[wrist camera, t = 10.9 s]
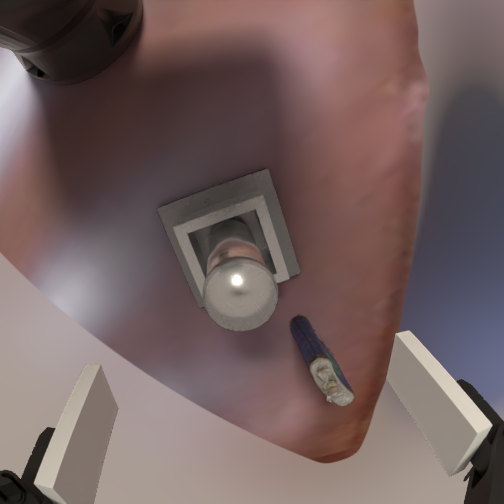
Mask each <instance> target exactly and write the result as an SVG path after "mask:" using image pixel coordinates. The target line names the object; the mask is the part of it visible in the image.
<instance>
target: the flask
mask: <svg viewBox="0 0 504 504" xmlns="http://www.w3.org/2000/svg"><path fill="white" fill-rule="evenodd" d="M290 329H291V332H292V334H293V335H294V338H295V339H296V341H297V343H298V346H299V348H300V350H301V352H302V355H303V357H304V359H305V362H306V364H307V366H308V369H309V372H310V374H311V376H312V378H313V380H314V382H315V384H316V385H317V387H318V388H319V389H320V390H321V392H322V393H323V394H324V395H325V396H326V397H327V398H326V400H327V401H329V402H334V403H336V404H337V405H339V406H345V405H348V404H350V403H351V402H352V401H353V399H354V398H355V396H354V393H353V390H352V389H351V387H350V385H349V384H348V382H347V380H346V379H345V377H344V375H343V373H342V371H341V370H340V367H339V365H338V364H337V362H336V360H335V358H334V356H333V354H332V353H331V351H330V349H329V348H327V347H326V346H325V344H324V343H323V342H324V341H323V340H322V338H321V337H320V336H318V335H316V333H315V330H314V329H313V328H312V326H311V324H310V322H309V320H308V319H307V317H305V316H302V315H299V314H298V316H296V317H294V318H292V320H291V321H290Z"/></svg>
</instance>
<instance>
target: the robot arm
mask: <svg viewBox="0 0 504 504" xmlns="http://www.w3.org/2000/svg"><path fill="white" fill-rule="evenodd" d="M142 8H143V6H142V0H0V47H3V48H6V49H9V50H11V51H13V53H14V54H15V56H16V57H17V58H18V60H19V61H20V63H21V64H22V66H23V67H24V68H25V70H26V71H27V72H28V73H29V74H31V75H32V76H34V77H35V78H37V79H40V80H43V81H46V82H49V83H52V84H58V85H65V84H73V83H77V82H81V81H83V80H86V79H88V78H91V77H93V76H94V75H96V74H98V73H100V72H101V71H103V70H104V69H106V68H107V67H108V66H110V65H111V64H112V63H113V62H114V61H115V60H116V59H117V58H118V57H119V56H120V55H121V54H122V53H123V52H124V51H125V50H126V48H127V47H128V46H129V44H130V43H131V41H132V39H133V38H134V36H135V34H136V32H137V30H138V27H139V25H140V21H141V17H142ZM386 379H387V381H388V382H389V384H390V385H391V387H392V388H393V390H394V391H395V392H396V394H397V396H398V397H399V399H400V400H401V402H402V403H403V405H404V407H405V408H406V410H407V411H408V413H409V414H410V416H411V417H412V419H413V420H414V422H415V423H416V425H417V427H418V428H419V430H420V431H421V432H422V434H423V436H424V438H425V439H426V441H427V442H428V444H429V445H430V447H431V449H432V450H433V452H434V453H435V455H436V457H437V458H438V460H439V461H440V463H441V465H442V466H443V468H444V469H445V471H446V473H447V474H448V476H449V477H450V476H452V475H454V474H456V473H458V472H460V471H462V470H464V469H465V467H466V466H467V465H468V463H469V462H470V461H471V463H472V464H473V467H472V468H471V470H470V471H469V472H468V474H467V475H466V476H465V478H464V481H466V480H467V479H468V478H469V482H468V487H467V492H466V496H465V500H464V504H504V421H503V420H502V419H501V418H500V417H499V415H498V414H497V413H496V412H495V411H494V410H493V409H492V408H491V406H490V405H489V404H488V403H487V402H486V401H485V400H484V399H483V397H482V396H481V395H480V394H478V392H477V390H476V389H475V388H474V387H473V386H472V385H471V384H469V383H468V382H466V381H464V380H462V379H461V380H458V381H455V380H454V379H453V378H452V377H451V376H450V375H449V373H448V372H447V371H446V370H445V369H444V368H443V367H442V365H441V364H440V363H439V362H438V361H437V360H436V359H435V358H434V357H433V356H432V355H431V354H430V352H429V351H428V350H427V349H426V348H425V347H424V346H423V345H422V344H421V342H420V341H419V340H418V339H417V338H416V337H415V336H414V335H413V334H412V333H411V332H410V331H405V332H400V333H396V334H395V340H394V345H393V350H392V355H391V359H390V364H389V368H388V373H387V377H386ZM117 411H118V406H117V404H116V402H115V399H114V397H113V395H112V392H111V390H110V387H109V385H108V382H107V380H106V377H105V375H104V372H103V369H102V367H101V365H100V364H86V365H85V367H84V369H83V371H82V373H81V375H80V377H79V379H78V381H77V383H76V385H75V387H74V389H73V391H72V393H71V396H70V398H69V400H68V402H67V404H66V406H65V409H64V411H63V413H62V415H61V417H60V420H59V422H58V424H57V426H56V428H50V427H47V428H46V429H45V430H44V431H43V432H42V433H41V434H40V436H39V438H38V440H37V442H36V444H35V447H34V449H33V451H32V455H31V456H30V458H29V460H28V463H27V465H26V468H25V470H24V473H23V475H22V478H21V479H20V478H19V477H18V476H17V475H16V474H15V473H13V472H12V471H8V470H3V471H0V504H94V501H95V496H96V492H97V488H98V483H99V479H100V475H101V471H102V466H103V463H104V458H105V455H106V451H107V447H108V444H109V440H110V436H111V433H112V429H113V425H114V422H115V418H116V415H117ZM469 476H470V477H469Z"/></svg>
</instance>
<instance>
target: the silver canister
mask: <svg viewBox="0 0 504 504" xmlns="http://www.w3.org/2000/svg"><path fill="white" fill-rule="evenodd" d="M202 297H203V304H204V307H205V309H206V311H207V313H208V314H209V316H210V317H211V318H212V319H213V320H214V321H215V322H216V323H217V324H218V325H220V326H222V327H223V328H226V329H229V330H233V331H247V330H252V329H254V328H257V327H259V326H261V325H262V324H263V323H265V322H266V321H267V320H268V319H269V318H270V317H271V315H272V314H273V312H274V310H275V307H276V305H277V301H278V286H277V283H276V280H275V278H274V276H273V274H272V272H271V271H270V270H269V268H268V267H267V266H266V265H265V263H264V260H263V258H262V256H261V253H260V251H259V249H258V246H257V244H256V242H255V239H254V237H253V235H252V232H251V231H250V229H249V228H248V227H247V226H246V225H245V224H244V223H242V222H240V221H237V220H226V221H223V222H221V223H219V224H218V225H217V226H216V227H215V228H214V229H213V230H212V232H211V234H210V238H209V251H208V264H207V276H206V278H205V281H204V285H203V294H202Z"/></svg>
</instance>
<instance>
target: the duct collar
mask: <svg viewBox="0 0 504 504" xmlns="http://www.w3.org/2000/svg"><path fill="white" fill-rule="evenodd" d="M157 210H158V213H159V215H160V218H161V220H162V223H163V225H164V228H165V230H166V233H167V235H168V237H169V240H170V242H171V245H172V247H173V249H174V252H175V254H176V257H177V259H178V261H179V264H180V266H181V268H182V270H183V273H184V275H185V277H186V280H187V282H188V284H189V286H190V289H191V291H192V293H193V295H194V298H195V300H196V302H197V304H198V306H199V308H201V307H204V304H203V297H202V294H203V285H204V281H205V278H206V276H207V264H208V251H209V238H210V234H211V232H212V230H213V229H214V228H215V227H216V226H217V225H218V224H219V223H221V222H223V221H226V220H237V221H240V222H242V223H244V224H245V225H246V226H247V227H248V228H249V229H250V231H251V232H252V235H253V237H254V239H255V242H256V244H257V246H258V249H259V251H260V253H261V256H262V258H263V260H264V263H265V265H266V266H267V267H268V268H269V270H270V271H271V272H272V274H273V276H274V278H275V280H276V283H279V282H282V281H285V280H288V279H290V278H289V277H291V276H294V275H297V274H300V273H301V272H300V269H299V265H298V262H297V259H296V255H295V252H294V249H293V246H292V242H291V239H290V236H289V232H288V229H287V226H286V223H285V220H284V216H283V213H282V210H281V207H280V204H279V201H278V197H277V194H276V191H275V188H274V185H273V182H272V179H271V176H270V173H269V170H268V168H266V169H263V170H260V171H257V172H254V173H251V174H248V175H245V176H242V177H239V178H237V179H234V180H231V181H228V182H225V183H222V184H219V185H217V186H214V187H211V188H208V189H206V190H203V191H200V192H198V193H195V194H192V195H189V196H187V197H184V198H182V199H179V200H176V201H174V202H171V203H169V204H166V205H163V206H161V207H158V208H157Z"/></svg>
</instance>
